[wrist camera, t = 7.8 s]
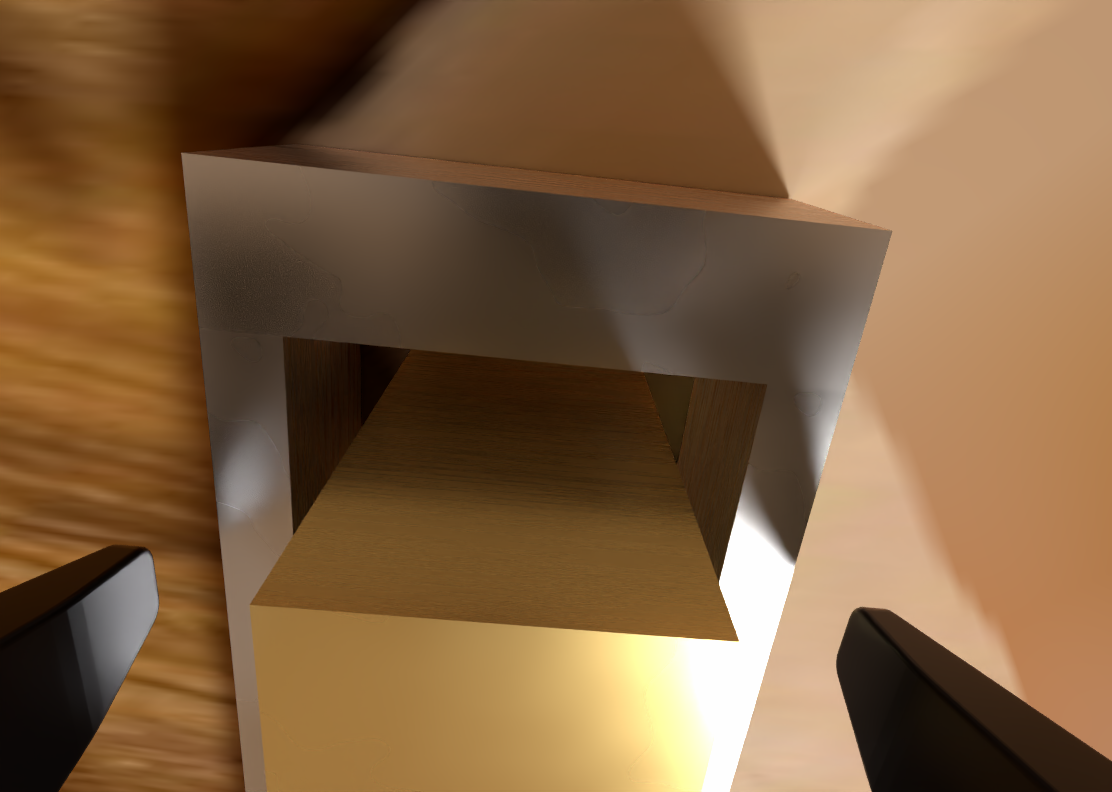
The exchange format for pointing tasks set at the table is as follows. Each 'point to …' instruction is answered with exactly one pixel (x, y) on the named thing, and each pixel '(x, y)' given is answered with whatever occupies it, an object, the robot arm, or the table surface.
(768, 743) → the table surface
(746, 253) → the grey slotted block holder
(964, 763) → the robot arm
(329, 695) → the wooden toy block
